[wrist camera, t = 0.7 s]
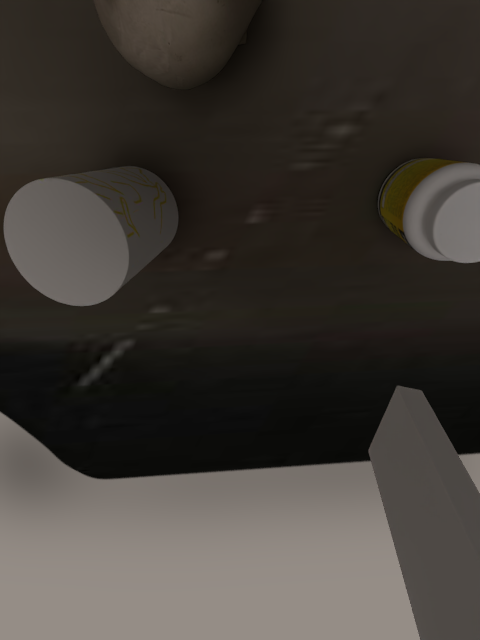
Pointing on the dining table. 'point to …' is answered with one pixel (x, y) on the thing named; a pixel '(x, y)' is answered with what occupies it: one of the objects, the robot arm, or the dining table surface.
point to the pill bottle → (434, 208)
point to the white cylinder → (89, 231)
